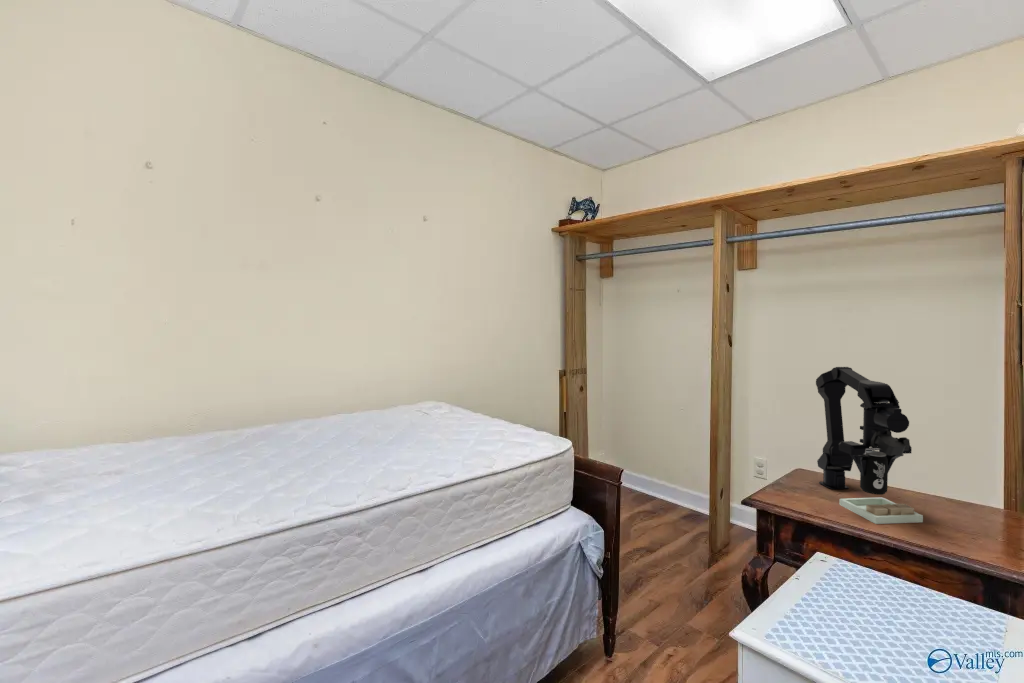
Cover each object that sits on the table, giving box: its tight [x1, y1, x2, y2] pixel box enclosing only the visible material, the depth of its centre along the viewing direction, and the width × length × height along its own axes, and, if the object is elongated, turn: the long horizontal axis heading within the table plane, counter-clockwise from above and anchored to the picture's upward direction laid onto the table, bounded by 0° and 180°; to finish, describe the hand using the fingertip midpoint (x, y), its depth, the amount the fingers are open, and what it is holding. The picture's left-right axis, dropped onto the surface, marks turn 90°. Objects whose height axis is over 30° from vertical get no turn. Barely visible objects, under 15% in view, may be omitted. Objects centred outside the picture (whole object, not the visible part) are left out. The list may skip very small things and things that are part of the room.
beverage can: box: [859, 450, 889, 496], centre depth 142 cm, size 7×7×12 cm
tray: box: [839, 496, 924, 525], centre depth 140 cm, size 14×14×2 cm
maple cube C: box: [893, 503, 915, 515], centre depth 137 cm, size 4×4×4 cm
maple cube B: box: [880, 504, 901, 515], centre depth 136 cm, size 4×4×4 cm
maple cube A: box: [866, 505, 888, 516], centre depth 136 cm, size 4×4×4 cm
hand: (874, 475), depth 142 cm, fingers closed on beverage can, 7 cm apart
